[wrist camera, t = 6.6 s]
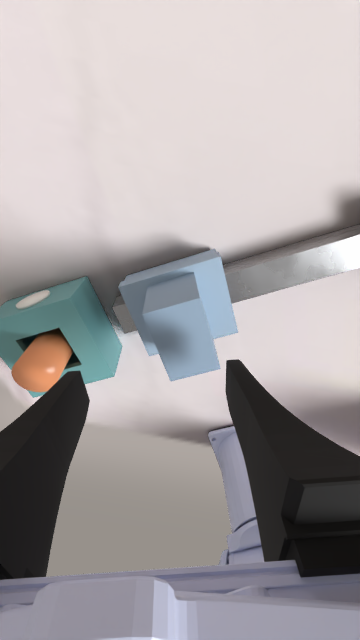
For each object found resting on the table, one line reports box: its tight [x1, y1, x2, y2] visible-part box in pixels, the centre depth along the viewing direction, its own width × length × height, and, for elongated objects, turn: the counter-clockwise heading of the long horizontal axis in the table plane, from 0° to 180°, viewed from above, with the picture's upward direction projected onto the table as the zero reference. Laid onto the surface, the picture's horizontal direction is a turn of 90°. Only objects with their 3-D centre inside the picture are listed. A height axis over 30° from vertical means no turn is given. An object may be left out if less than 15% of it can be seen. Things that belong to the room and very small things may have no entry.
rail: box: [112, 224, 360, 333], centre depth 20 cm, size 5×21×3 cm, turn 107°
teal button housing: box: [0, 276, 122, 398], centre depth 21 cm, size 7×7×4 cm
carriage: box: [118, 249, 238, 381], centre depth 19 cm, size 6×7×7 cm
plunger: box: [12, 328, 73, 392], centre depth 19 cm, size 3×3×4 cm
